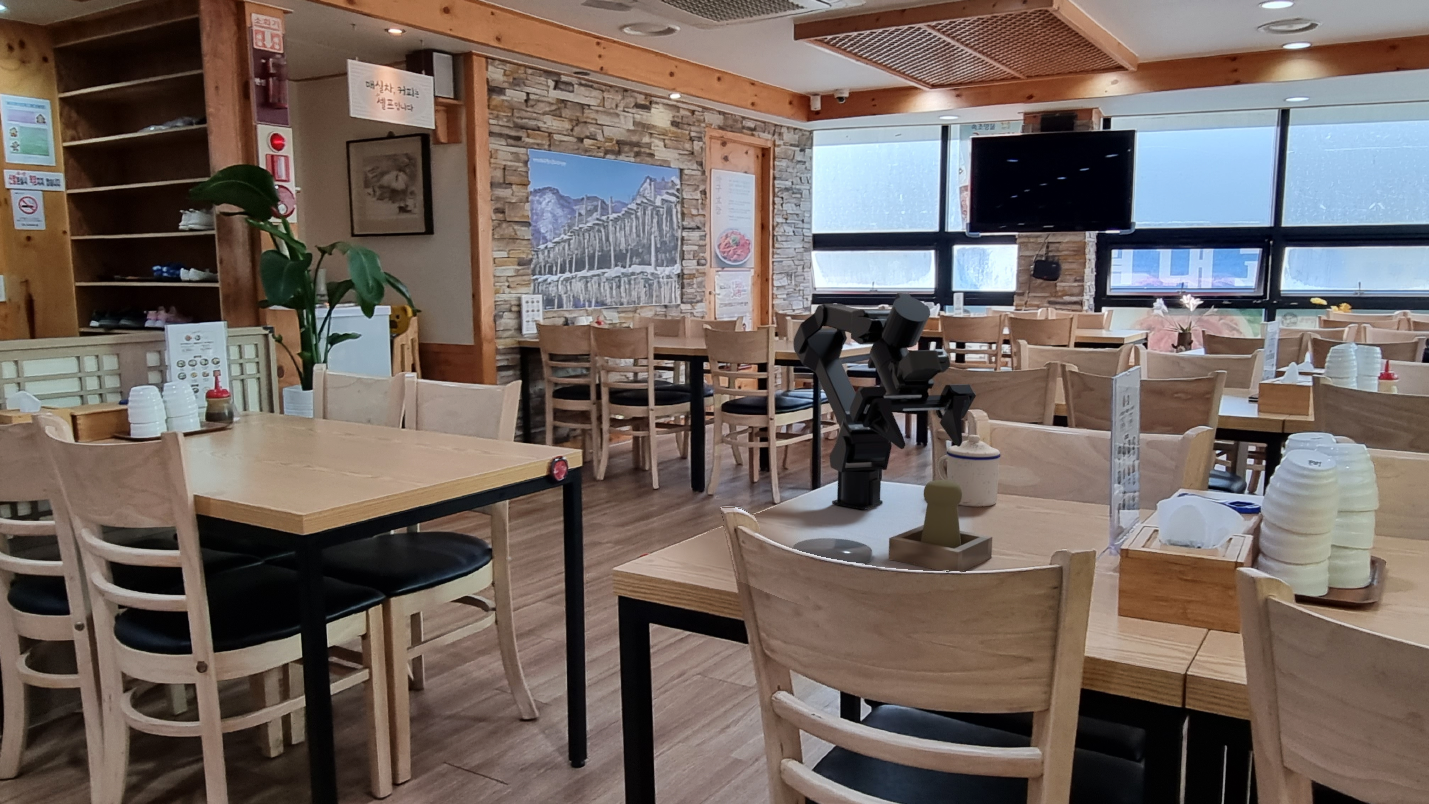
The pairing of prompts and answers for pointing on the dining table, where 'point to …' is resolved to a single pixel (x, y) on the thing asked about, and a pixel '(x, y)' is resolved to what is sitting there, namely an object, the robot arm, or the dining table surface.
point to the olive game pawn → (942, 514)
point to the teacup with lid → (973, 471)
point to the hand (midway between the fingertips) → (931, 445)
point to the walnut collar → (940, 551)
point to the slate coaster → (836, 549)
